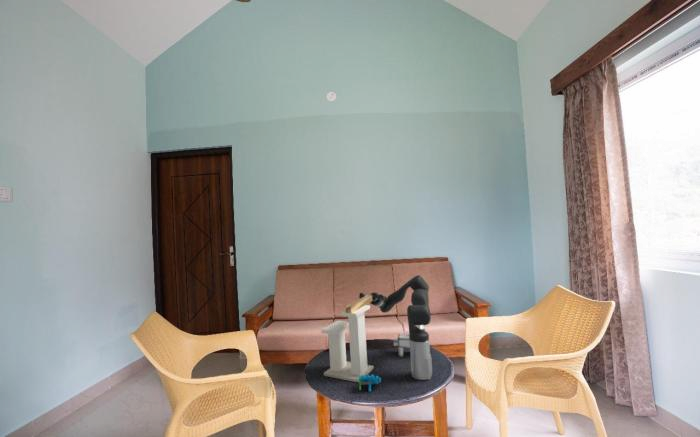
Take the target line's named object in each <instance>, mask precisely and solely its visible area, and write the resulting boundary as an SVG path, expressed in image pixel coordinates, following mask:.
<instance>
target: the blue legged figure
mask: <svg viewBox="0 0 700 437" xmlns="http://www.w3.org/2000/svg"><path fill="white" fill-rule="evenodd" d="M358 382H359V383H358ZM356 383H358V386H359V391H361V390H362V386H366V385H367V386H368V392H369V393H371V392H372V385H375V384H376V385H378V384H379V383H382V378H381V377H379V376H378V375H374V374H370V375H369V374H366V376H364V375H362V376H361V377H359V378H357V382H356Z"/></svg>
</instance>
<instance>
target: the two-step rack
mask: <svg viewBox="0 0 700 437" xmlns="http://www.w3.org/2000/svg"><path fill="white" fill-rule="evenodd" d="M370 309H371V305H369V304H366V305H365V306H363V307H361V308H360V309H358V310H356V311H354V312H353V313H346V309H345V310H343V311H341V312H340V313H341V317H347V320H348V321H345V320H336V321H333V323H331V324H329V325H327V326H325V327H324V328H322V329H321V334H326V335H328V347H329V348H328V349H329V366H330V368H328V369H327V370H325V371H324V372H323V376H324V377H327V378H328V377H329V378H334V379H339V380H345V381H348V382H349V381H350V382H352V383H353V382H354V383H357V384H359V382H357V378H359V377H361V376H362V375H364V376H366V374H368V375H369V374H370V373H371V372H372V371H373V370H374V368H375V367H374V365H370V364H368V355H367V353H368V352H367V336H366V335H367V334H366V317H365V313H366V312H367V311H368V310H370ZM346 328H348V334H349V339H348V340H349V353H350V361H349V360H348V361H347V350H346V334H345V333H346V332H345V330H346Z"/></svg>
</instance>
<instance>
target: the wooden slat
mask: <svg viewBox="0 0 700 437" xmlns="http://www.w3.org/2000/svg"><path fill="white" fill-rule="evenodd" d="M370 302H372V295H366V296H365V297H363V298H361V299H360V298H359V299H357V300H355V301H353V302H351V303H349V304H347V305H346V306H345V310H346V313H353V312H354V311H356V310H358V309H360V308H361V307H363V306H365V305H369V304H371V303H370Z"/></svg>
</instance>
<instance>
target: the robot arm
mask: <svg viewBox="0 0 700 437" xmlns="http://www.w3.org/2000/svg"><path fill="white" fill-rule="evenodd" d="M409 288H411V290H412V293H411V299H410V301H411V305H410V304H409V305H408V306H407V308H406V312H407V314H406V315H407V322H408V324H407V325H408V334H409V340H410V348H409V352H410V353H409V354H410V356H409V357H410V370H411V377H412V378H414V379H416V380H420V381H423V380H424V381H425V380H428V381H429V380H431V378H432V376H433V363H432V362H433V361H432V359H433V358H432V354H431V350H430V349H431V348H430V347H431V346H430V337H429V336H430V335H429V333H428V332H427V331H426V330H425V331H424V330H421V329H419V328H417V327H416V326H415V325H424V326H428V325H429V324H430V322H431V318H432V316H431V310H430V305H429V304H430V303H429V302H430V300H429V289H430V287H429V284H428V283H427V282H426V280H424V278H423V277H422V276H421V275H415V276H413V277H412V278H410V279H409V280H408V281H407V282H405V283H404V284H403V285H402V286H401V287H400V288H398V289H396V291H394V292H392V293H390V294H389V295H388V296H386V295H383V294H381V293H380V294H379V293H378V292H372V293H362V292H359V294H358V295H359V296H358V298H359V299H361V298H363V297H365V296H366V295H372V302H370V303H369V304H371V305H373V306H374V307H376V308H380V311H381V313H384V314H385V313H389V312H390V311H391V310H392V308H394V306H395V305H397V304H399V303H400V302H402V301H403V300H404V299H405V296H406V294H407V291H408V289H409Z"/></svg>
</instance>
